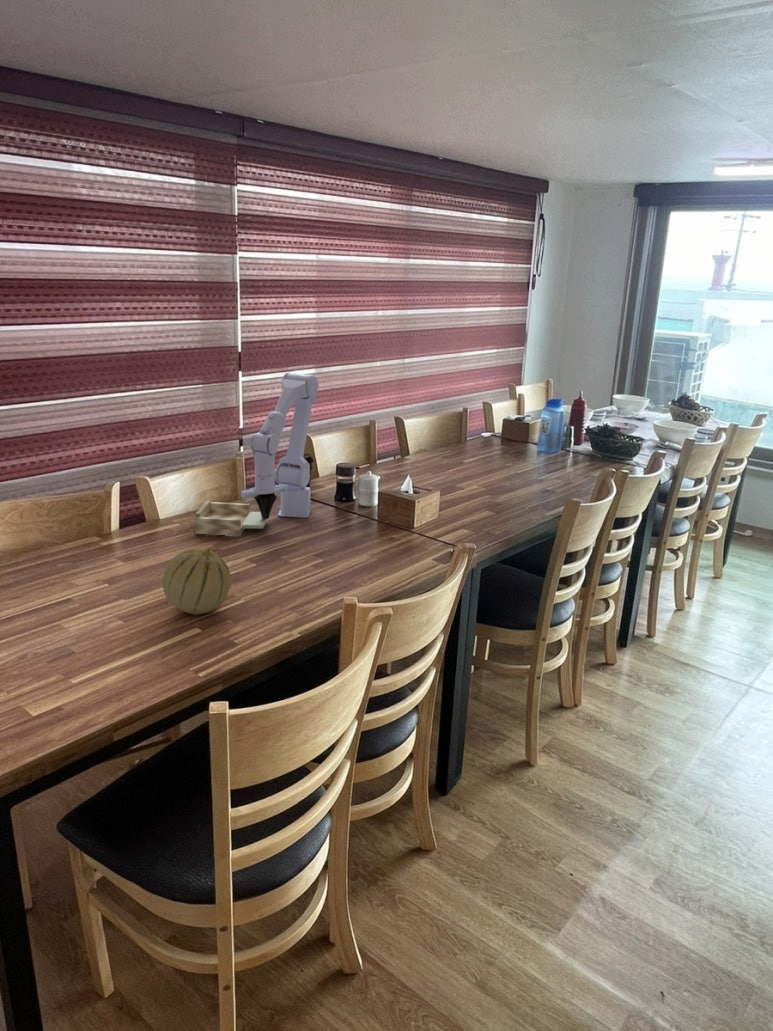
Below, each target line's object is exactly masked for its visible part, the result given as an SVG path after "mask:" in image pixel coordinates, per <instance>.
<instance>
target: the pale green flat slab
mask: <svg viewBox="0 0 773 1031" xmlns="http://www.w3.org/2000/svg"><path fill="white" fill-rule="evenodd" d="M267 521H268V519H264V518H262V516H261V512H260V511H250V512H249V514H248V516H247V518H246V519H245V521H244V523H243V524H242V528H245V529H261V530H262V529H264V528H265V525H266V523H267Z"/></svg>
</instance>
